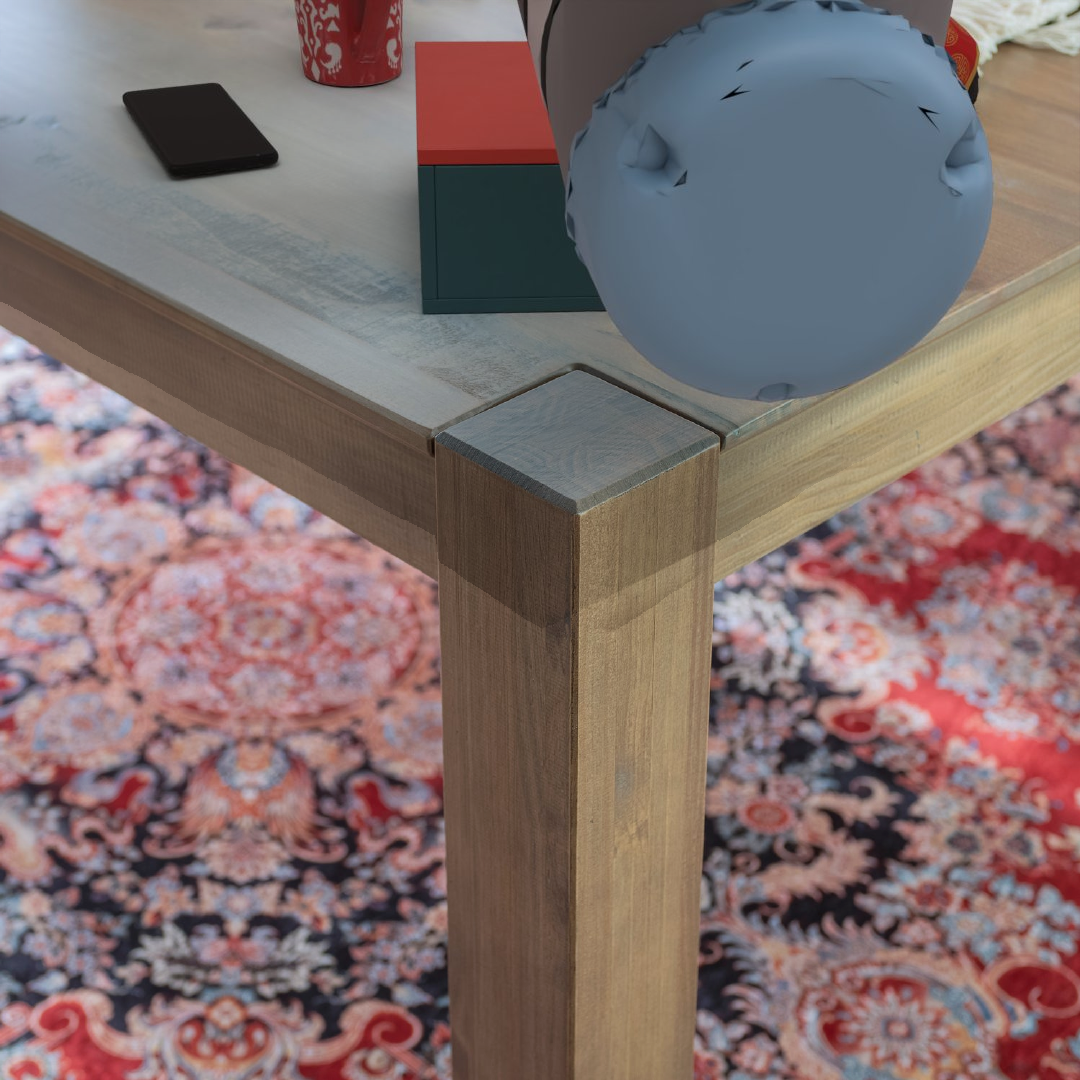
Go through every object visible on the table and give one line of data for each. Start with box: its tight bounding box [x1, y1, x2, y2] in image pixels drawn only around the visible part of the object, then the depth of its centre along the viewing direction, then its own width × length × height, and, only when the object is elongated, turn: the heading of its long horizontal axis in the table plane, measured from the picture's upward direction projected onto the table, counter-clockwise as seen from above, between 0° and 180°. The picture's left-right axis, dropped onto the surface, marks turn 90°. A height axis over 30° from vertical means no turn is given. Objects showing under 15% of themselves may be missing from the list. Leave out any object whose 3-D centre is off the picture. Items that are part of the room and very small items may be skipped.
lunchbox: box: [416, 162, 606, 314], centre depth 75 cm, size 17×14×8 cm
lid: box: [414, 40, 559, 165], centre depth 73 cm, size 17×14×1 cm
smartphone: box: [121, 82, 280, 177], centre depth 90 cm, size 7×1×15 cm
